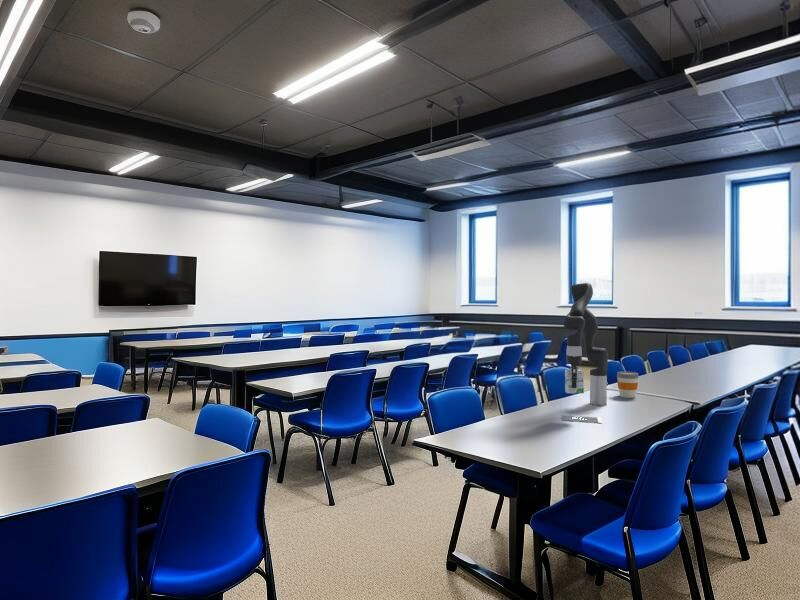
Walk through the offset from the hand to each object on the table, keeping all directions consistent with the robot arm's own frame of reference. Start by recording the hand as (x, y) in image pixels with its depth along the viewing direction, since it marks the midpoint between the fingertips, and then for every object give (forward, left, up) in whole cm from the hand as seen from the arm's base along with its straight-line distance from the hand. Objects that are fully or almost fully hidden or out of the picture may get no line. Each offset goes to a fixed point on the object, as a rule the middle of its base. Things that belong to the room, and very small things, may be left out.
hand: (574, 386), depth 263 cm
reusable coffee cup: (-72, +33, -17) cm, 81 cm away
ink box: (0, 0, -3) cm, 3 cm away
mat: (0, +3, -17) cm, 17 cm away
